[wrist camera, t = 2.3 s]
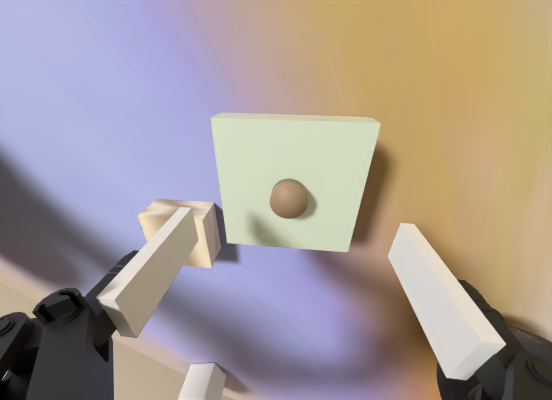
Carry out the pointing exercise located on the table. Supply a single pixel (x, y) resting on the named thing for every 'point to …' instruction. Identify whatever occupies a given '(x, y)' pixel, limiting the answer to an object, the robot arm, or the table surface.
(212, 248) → the stand
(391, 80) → the table surface
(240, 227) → the lid
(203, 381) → the medicine bottle
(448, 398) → the pitcher
